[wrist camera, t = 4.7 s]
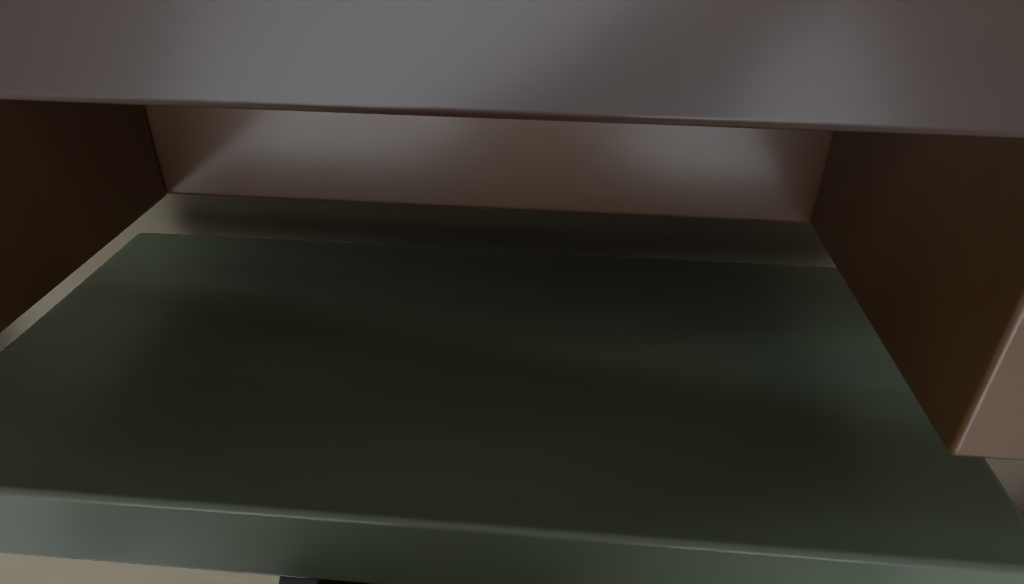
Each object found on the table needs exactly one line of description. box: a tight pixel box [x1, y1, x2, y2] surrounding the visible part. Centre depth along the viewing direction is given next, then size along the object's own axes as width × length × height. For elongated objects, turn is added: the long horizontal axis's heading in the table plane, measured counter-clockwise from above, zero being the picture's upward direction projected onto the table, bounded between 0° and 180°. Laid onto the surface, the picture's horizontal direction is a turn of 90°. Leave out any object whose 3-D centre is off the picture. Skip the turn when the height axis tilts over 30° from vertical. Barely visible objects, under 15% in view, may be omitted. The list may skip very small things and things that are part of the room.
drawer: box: [0, 100, 1024, 584], centre depth 9 cm, size 19×13×6 cm
